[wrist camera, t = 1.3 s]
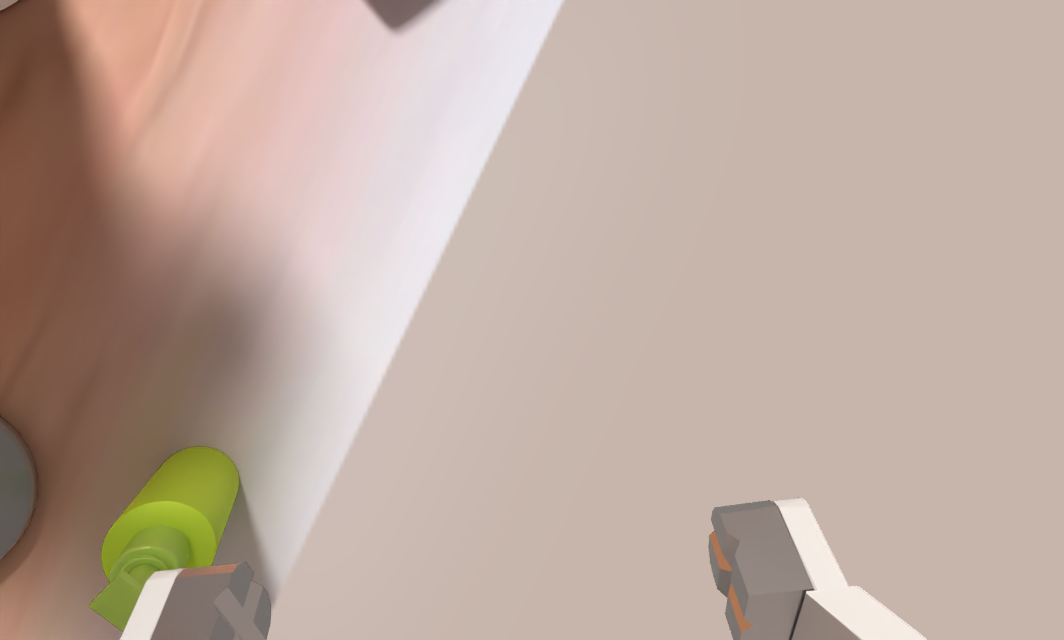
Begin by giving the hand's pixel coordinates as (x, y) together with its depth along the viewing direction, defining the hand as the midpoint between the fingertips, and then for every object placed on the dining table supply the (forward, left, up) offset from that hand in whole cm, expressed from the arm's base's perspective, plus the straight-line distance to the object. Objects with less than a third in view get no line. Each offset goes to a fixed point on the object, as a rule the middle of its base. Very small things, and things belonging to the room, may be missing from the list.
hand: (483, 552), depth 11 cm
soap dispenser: (-4, -15, -44) cm, 47 cm away
